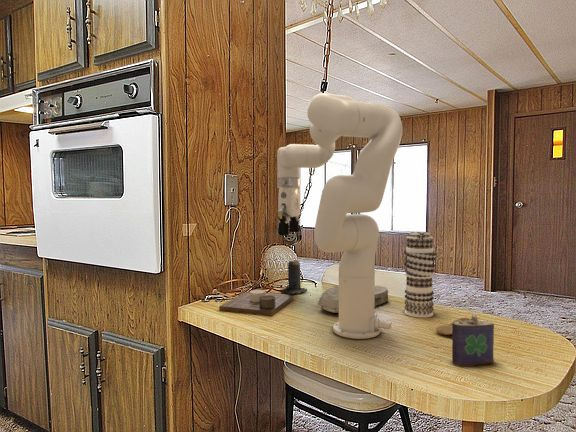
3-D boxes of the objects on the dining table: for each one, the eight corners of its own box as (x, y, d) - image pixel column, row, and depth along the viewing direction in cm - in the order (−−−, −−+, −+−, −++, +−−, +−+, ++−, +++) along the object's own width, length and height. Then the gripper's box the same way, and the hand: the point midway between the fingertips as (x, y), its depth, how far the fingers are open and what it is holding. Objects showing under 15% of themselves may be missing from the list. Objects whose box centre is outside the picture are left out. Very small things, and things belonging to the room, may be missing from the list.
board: (293, 299, 144) (293, 295, 144) (271, 316, 125) (271, 311, 125) (246, 295, 150) (246, 291, 150) (219, 310, 132) (219, 305, 132)
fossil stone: (339, 319, 122) (339, 301, 121) (305, 308, 133) (305, 292, 132) (395, 301, 140) (395, 286, 140) (361, 293, 151) (361, 279, 151)
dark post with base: (294, 296, 149) (293, 263, 148) (279, 292, 154) (278, 260, 153) (310, 291, 155) (310, 260, 154) (295, 288, 160) (295, 257, 160)
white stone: (267, 298, 139) (267, 290, 139) (261, 302, 135) (261, 293, 134) (254, 297, 141) (254, 289, 141) (247, 301, 136) (247, 292, 136)
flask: (489, 359, 92) (490, 312, 91) (497, 364, 89) (498, 316, 89) (449, 361, 91) (450, 314, 91) (456, 367, 88) (456, 318, 88)
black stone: (277, 305, 132) (277, 296, 131) (271, 309, 127) (271, 300, 127) (263, 303, 133) (263, 294, 133) (256, 308, 129) (256, 298, 128)
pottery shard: (480, 347, 102) (484, 327, 111) (479, 332, 101) (483, 312, 109) (435, 342, 108) (442, 322, 116) (433, 327, 107) (441, 308, 115)
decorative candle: (419, 319, 120) (420, 234, 119) (396, 311, 129) (397, 231, 127) (441, 315, 125) (442, 232, 123) (418, 307, 133) (419, 230, 131)
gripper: (290, 183, 132) (290, 236, 133) (306, 183, 148) (307, 231, 149) (268, 183, 134) (269, 235, 135) (287, 184, 150) (287, 230, 151)
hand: (289, 233), depth 142 cm, fingers open, 9 cm apart
